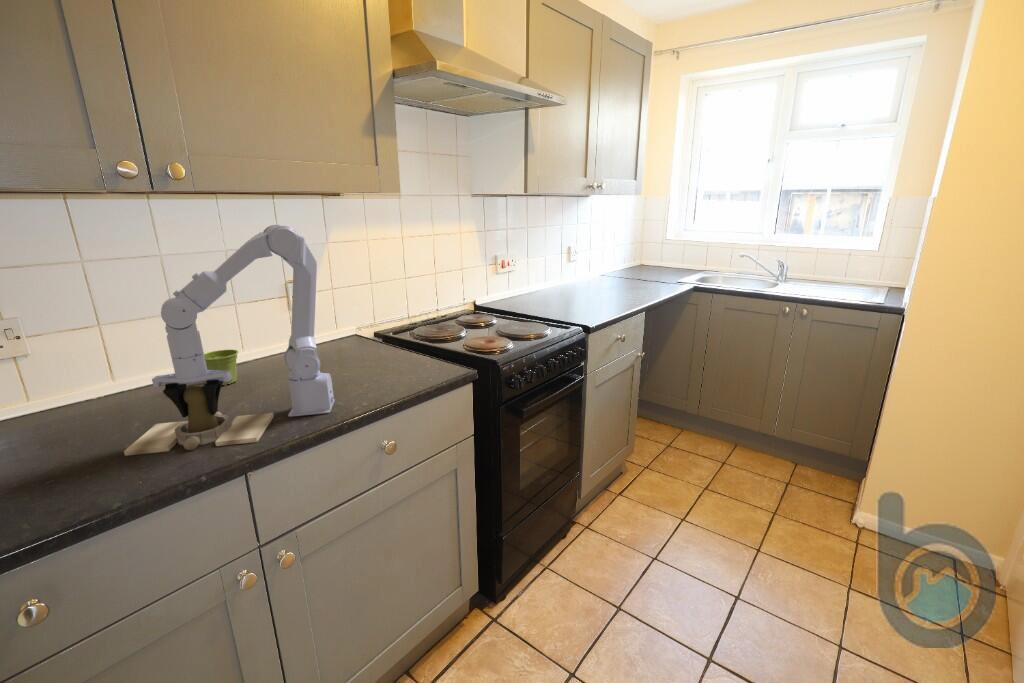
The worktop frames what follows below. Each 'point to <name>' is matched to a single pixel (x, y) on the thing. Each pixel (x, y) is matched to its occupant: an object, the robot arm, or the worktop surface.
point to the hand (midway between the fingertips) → (200, 414)
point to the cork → (198, 410)
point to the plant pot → (222, 362)
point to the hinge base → (201, 434)
